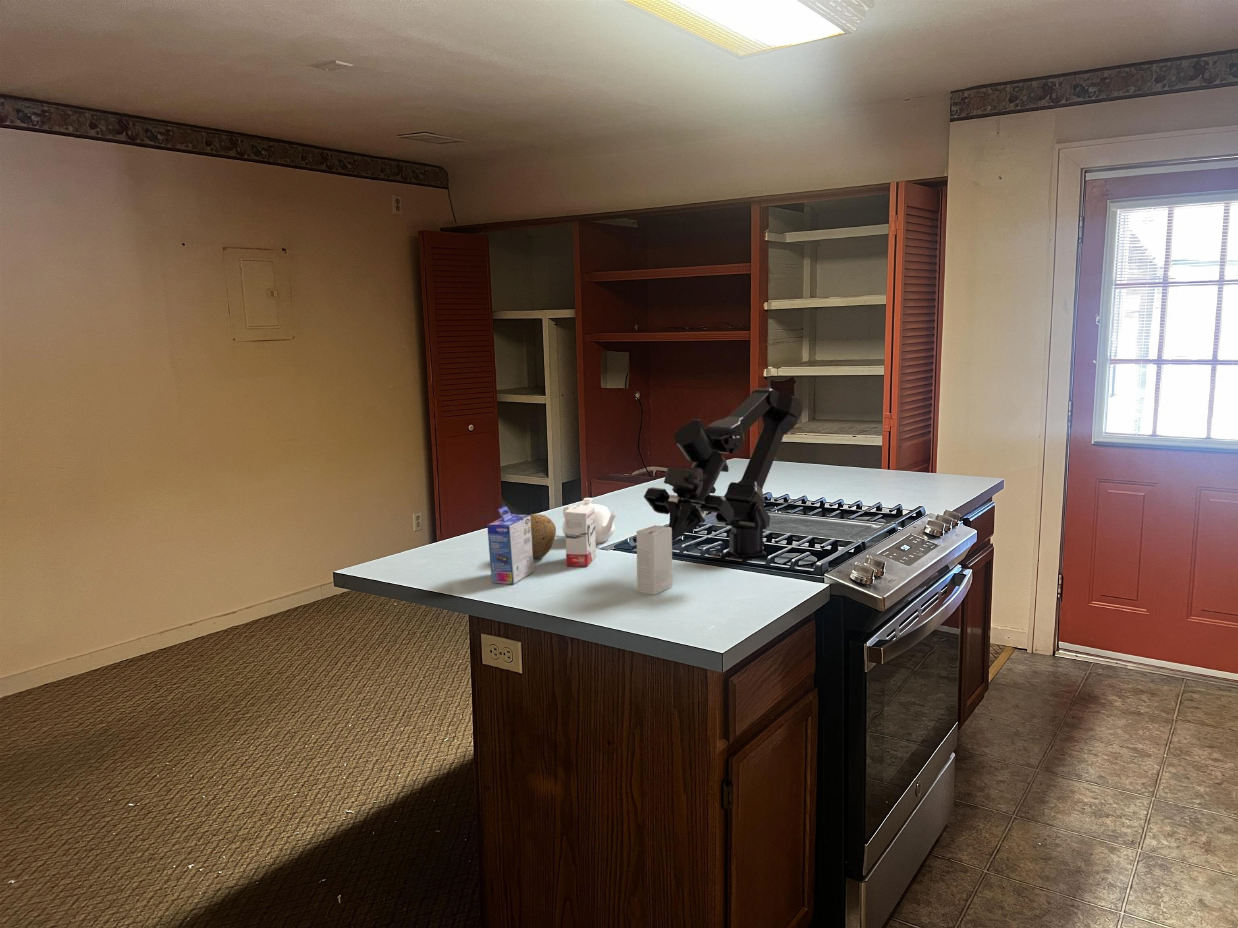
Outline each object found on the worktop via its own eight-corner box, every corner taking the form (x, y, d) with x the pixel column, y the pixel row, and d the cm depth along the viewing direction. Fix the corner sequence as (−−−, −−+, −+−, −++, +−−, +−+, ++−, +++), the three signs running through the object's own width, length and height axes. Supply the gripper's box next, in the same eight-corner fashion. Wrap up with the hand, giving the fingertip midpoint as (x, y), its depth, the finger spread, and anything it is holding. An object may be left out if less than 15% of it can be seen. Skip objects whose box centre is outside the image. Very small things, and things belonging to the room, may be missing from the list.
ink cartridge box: (510, 569, 184) (507, 502, 182) (534, 571, 182) (532, 503, 180) (489, 583, 175) (485, 512, 173) (514, 585, 173) (510, 513, 171)
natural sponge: (522, 565, 187) (520, 520, 185) (510, 556, 195) (508, 512, 193) (562, 560, 190) (560, 515, 189) (548, 551, 199) (547, 508, 197)
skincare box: (655, 584, 171) (654, 523, 169) (673, 588, 168) (673, 526, 167) (635, 591, 167) (634, 530, 165) (654, 596, 164) (653, 533, 162)
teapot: (637, 543, 204) (636, 500, 203) (595, 552, 196) (594, 508, 195) (585, 529, 219) (583, 489, 218) (544, 537, 212) (543, 496, 210)
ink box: (587, 567, 185) (586, 512, 183) (565, 566, 186) (563, 512, 184) (597, 556, 193) (595, 504, 191) (575, 556, 194) (573, 504, 192)
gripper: (648, 448, 178) (614, 510, 171) (725, 455, 166) (692, 522, 159) (672, 480, 185) (640, 541, 178) (747, 489, 173) (716, 555, 166)
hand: (670, 539), depth 170 cm, fingers closed
